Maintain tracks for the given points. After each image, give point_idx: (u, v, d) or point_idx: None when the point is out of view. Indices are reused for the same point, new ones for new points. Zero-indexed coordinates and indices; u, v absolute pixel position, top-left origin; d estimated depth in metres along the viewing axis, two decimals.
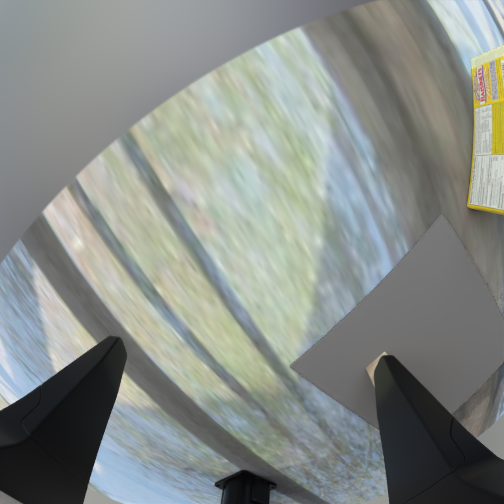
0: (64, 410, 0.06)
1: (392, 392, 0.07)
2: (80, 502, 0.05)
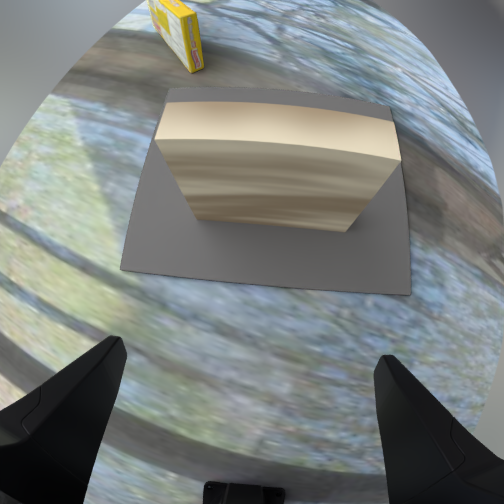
0: (64, 410, 0.06)
1: (392, 392, 0.07)
2: (80, 502, 0.05)
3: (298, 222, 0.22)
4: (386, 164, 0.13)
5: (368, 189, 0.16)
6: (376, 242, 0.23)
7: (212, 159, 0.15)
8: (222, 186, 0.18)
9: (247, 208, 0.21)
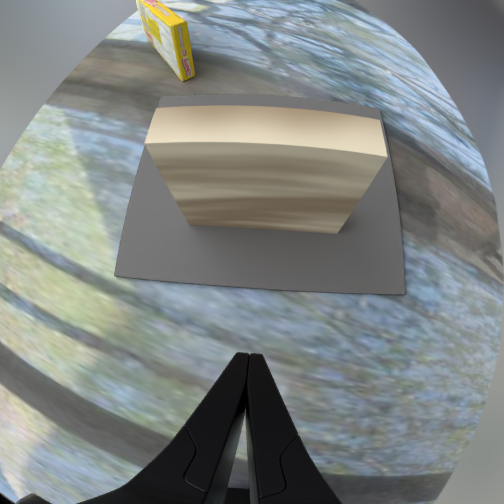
0: (225, 449, 0.06)
1: (246, 393, 0.08)
2: None
3: (289, 225, 0.22)
4: (373, 161, 0.14)
5: (357, 188, 0.16)
6: (368, 242, 0.23)
7: (200, 162, 0.15)
8: (213, 189, 0.18)
9: (239, 212, 0.21)
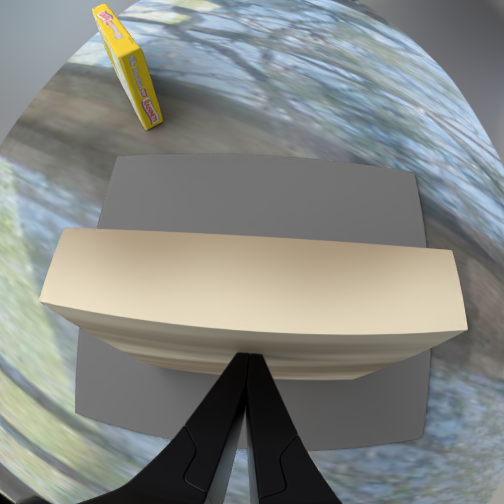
0: (225, 448, 0.06)
1: (246, 393, 0.08)
2: None
3: (288, 377, 0.15)
4: (441, 336, 0.07)
5: (399, 356, 0.09)
6: (388, 385, 0.16)
7: (137, 334, 0.08)
8: (170, 354, 0.11)
9: (215, 369, 0.14)
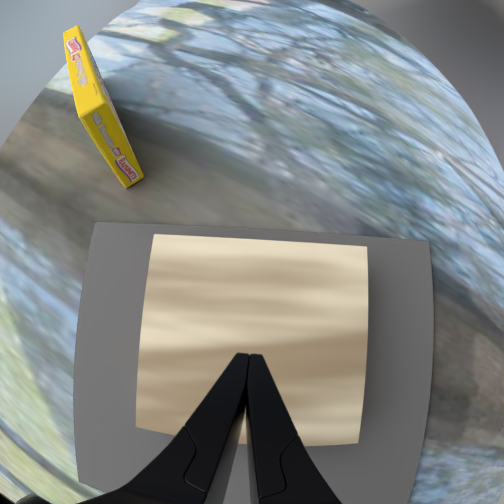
0: (225, 449, 0.06)
1: (246, 393, 0.08)
2: None
3: None
4: (357, 256, 0.16)
5: (357, 307, 0.15)
6: (378, 469, 0.14)
7: (194, 268, 0.16)
8: (193, 324, 0.15)
9: None
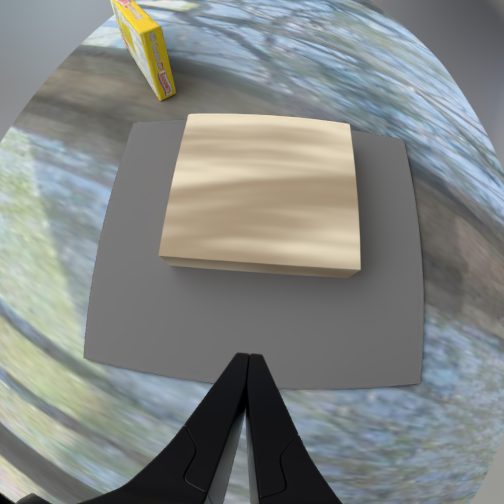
0: (225, 449, 0.06)
1: (246, 393, 0.08)
2: None
3: (295, 245, 0.17)
4: (342, 128, 0.20)
5: (345, 159, 0.19)
6: (385, 326, 0.18)
7: (219, 132, 0.20)
8: (217, 167, 0.19)
9: (234, 212, 0.18)
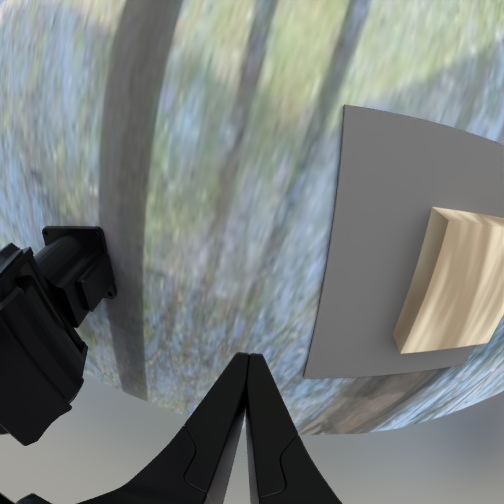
0: (225, 449, 0.06)
1: (246, 393, 0.08)
2: None
3: (428, 317, 0.20)
4: (486, 338, 0.21)
5: (467, 341, 0.21)
6: (352, 356, 0.25)
7: None
8: (494, 261, 0.17)
9: (461, 276, 0.18)
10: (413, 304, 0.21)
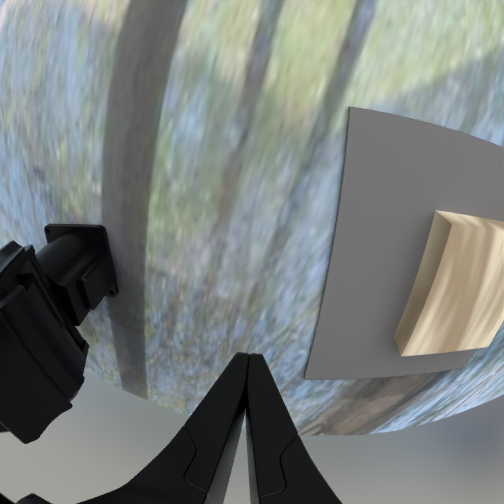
0: (225, 449, 0.06)
1: (246, 394, 0.08)
2: None
3: (429, 320, 0.20)
4: (487, 342, 0.21)
5: (468, 345, 0.21)
6: (353, 358, 0.25)
7: None
8: (496, 266, 0.17)
9: (464, 280, 0.18)
10: (415, 307, 0.20)
